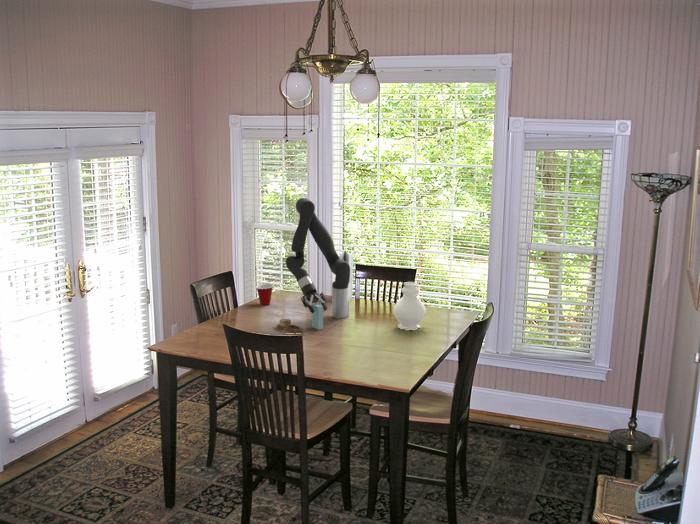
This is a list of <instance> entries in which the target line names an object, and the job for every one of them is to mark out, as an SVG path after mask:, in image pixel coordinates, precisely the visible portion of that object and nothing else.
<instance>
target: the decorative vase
mask: <svg viewBox="0 0 700 524" xmlns="http://www.w3.org/2000/svg"><path fill="white" fill-rule="evenodd" d="M403 285H404V286H403V288H402V289H401V292H402V294H403V296H402V297H401V298H399V300H398V301H397V302H396V303H395V305H394V307H393V315H394V317H395V318H396V320H397V322H399V324H398V325H397V328H398V329H399V328H400V330H402V329H405V330H404V331H409V330H413V331H415V330H414V329H418V328H419V327H420V328H421V325H419V324H420V323H421V322H422V321H423V319H425V317H426V314H427V310H426V309H427V308H426V307H425V304H424V303H423V302H422V300H421V299H420V298H419V297H418V296H417V295H418V294H419V293H420V290H419V287H417V286H418V282H414V281H405V282H403ZM418 330H419V329H418Z"/></svg>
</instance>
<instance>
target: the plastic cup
mask: <svg viewBox="0 0 700 524" xmlns="http://www.w3.org/2000/svg"><path fill="white" fill-rule="evenodd" d="M255 288H256V290H257V296H258V299H259V305H260V306H262V307H263V306H264V307H266V306H270V304H271V300H272V294H273V288H274V284H271V283H265V284H263V283H262V284H259V285H256V286H255Z"/></svg>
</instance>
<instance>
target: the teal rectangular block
mask: <svg viewBox="0 0 700 524" xmlns="http://www.w3.org/2000/svg"><path fill="white" fill-rule="evenodd" d="M311 306H312V307H313V309H314V311H315V312H314V313H312V312H311V328H313V329H317V330H323V329H324V309H323V306H322V305H321V304H319V303H312V304H311Z"/></svg>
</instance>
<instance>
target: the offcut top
mask: <svg viewBox="0 0 700 524" xmlns="http://www.w3.org/2000/svg"><path fill="white" fill-rule="evenodd" d="M279 323H280V324H282V325H287V324H292V321H291V319H290V318H286V317H285V318H282V319H279Z"/></svg>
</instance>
